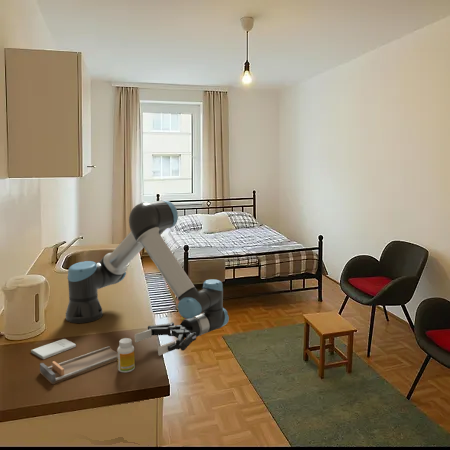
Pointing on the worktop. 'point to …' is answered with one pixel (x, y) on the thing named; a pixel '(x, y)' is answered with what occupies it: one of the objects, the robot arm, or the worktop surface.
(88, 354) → the rail board
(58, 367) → the latch plate
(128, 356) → the supplement bottle
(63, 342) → the external hard drive
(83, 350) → the worktop surface
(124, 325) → the worktop surface
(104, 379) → the worktop surface
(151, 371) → the worktop surface
